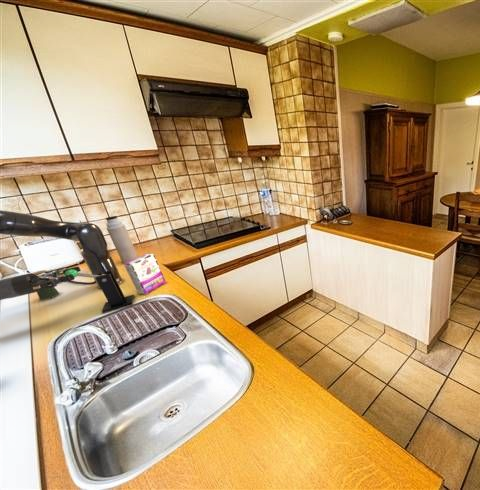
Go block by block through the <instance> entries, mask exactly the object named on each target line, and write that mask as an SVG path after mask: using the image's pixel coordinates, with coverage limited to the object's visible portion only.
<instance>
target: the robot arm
mask: <svg viewBox="0 0 480 490" xmlns="http://www.w3.org/2000/svg"><path fill="white" fill-rule="evenodd" d="M0 235H6V236H18V237H32V238H33V237H34V238H35V237H36V238H37V237H41V238H42V237H50V238H58V239H64V240H68V241H74V242H79V244H80V246H81V248H82V250H81V252H80V255H81V256H82V258H83V261H84V262H85V264H86V266H87V268H88V270H89V272H90V274H92V275H98V273H102V272H106V271H110V270H112V272H113V274H114V276H115V278H116V280H117V282H118V284H119V285H120V284H122V283H123V282H124V279H123V278H122V276H121V274H120V272H119V269H118V268H117V266H116V264H115V261H114V259H113V257H112V254H111V253H110V251H109V249H108V243H107V240H106V237H105V236H104V233H103V230H101V228H100V227H99V226H98V225H97V224H95V223H91V222H82V221H81V222H79V221H78V222H74V221H59V220H52V219H49V218H46V217H41V216H38V215H34V214H28V213H23V212H16V211H9V210H1V209H0ZM70 269H74V270H76V271H77V272H78V273H81V272H82V271H81V267H79V266H73V267H69V268H67V267H65V266H64V267H60V268H56V269H51V270H47V271H46V272H44V273H45V274H42V275H41V276H36V275H35V274H32V273H33V272H30V273H25V274H20V275H17V276H16V275H15V276H12V277H7V278H2V279H0V301H2V300H9V299H14V298H17V297H22V296H26V295H31V294H34V293H37V292H38V291H40V290H43V289H47V288H51V287H54V288H56V287H57V286H58V285H61V284H62V283H66V282H68V283H73V284H78V285H79V284H80V285H94V284H96V285H97V286H98V287H97V288H98V289H100V290H102V289H101V288H100V286H99V284H98V282H97V280H96V278H93V280H94V281H91V282H86V281H75V278H76V277H75V278H74V276H73V275H72V274H70V275H66V276H65V272H66V271H68V270H70Z"/></svg>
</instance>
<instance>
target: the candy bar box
mask: <svg viewBox="0 0 480 490" xmlns="http://www.w3.org/2000/svg"><path fill="white" fill-rule="evenodd" d="M123 267H124V268H125V270H126V272H127V274H128V276H129V277H130V280H131V282H132V284H133V286H134V288H135V289H136V292H137V293H138V295H148V294H149V293H151V292H152V291H155V290H156V289H158V288H159V287H160V286H162V285H164V284H166V283H167V281H166V279H165V277H164V273H163V272H162V269H161V268H160V265H159V263H158V261H157V259H156V256H155V254H154V253H144V254H142V255H139V256H138V258H136V259H134V260H131V261H129V262H127V263H123Z"/></svg>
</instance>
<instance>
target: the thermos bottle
mask: <svg viewBox="0 0 480 490" xmlns="http://www.w3.org/2000/svg"><path fill="white" fill-rule="evenodd" d="M105 220H106V231H107V233H108V235H109V237H110V239H111V241H112V243H113V245H114V247H115V250H116V252H117V254H118V256H119V258H120V260H121V262H122V264H125V263H127V262H129V261H131V260H134V259H136V258H138V257H139V255H138V253H137V250H136V248H135V246H134V244H133V242H132V239H131V237H130V235H129V232H128V230H127V227H126V226H125V224H123V222H122V221H121V220H119V219H118V215H117V216H115V215H114V216H113V215H112V216H108V217H106V218H105Z"/></svg>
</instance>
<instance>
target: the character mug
mask: <svg viewBox="0 0 480 490" xmlns="http://www.w3.org/2000/svg"><path fill="white" fill-rule="evenodd" d="M46 271H48V270H46V269H43V270H38V271H34V272H31V273H32V274H35V275H36V276H41V275H42V274H45V273H44V272H46ZM36 294H37V296H38V299H39V300H41V301H43V300H48V299H52V298H54V297H57V296H58V295H59V294H60V292H59V291H58V290H57V288H56V287H51V288H47V289H43V290H40V291H38V292H36Z"/></svg>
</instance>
